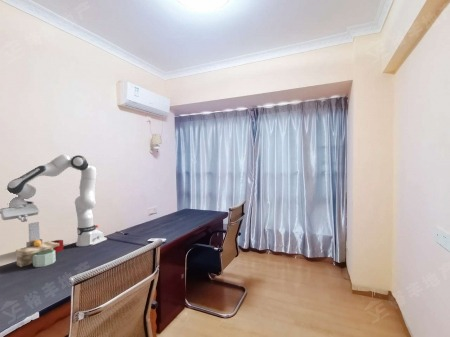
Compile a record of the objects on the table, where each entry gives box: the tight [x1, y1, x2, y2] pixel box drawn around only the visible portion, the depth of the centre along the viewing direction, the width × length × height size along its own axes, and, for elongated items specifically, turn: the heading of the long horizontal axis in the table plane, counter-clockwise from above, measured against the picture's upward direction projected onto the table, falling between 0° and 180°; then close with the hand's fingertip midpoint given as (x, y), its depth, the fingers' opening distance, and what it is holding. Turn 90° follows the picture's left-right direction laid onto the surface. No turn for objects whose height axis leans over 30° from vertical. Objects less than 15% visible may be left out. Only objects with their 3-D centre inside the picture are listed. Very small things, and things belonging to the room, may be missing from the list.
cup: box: [32, 249, 57, 268], centre depth 148 cm, size 11×11×7 cm
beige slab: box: [15, 240, 59, 268], centre depth 151 cm, size 18×14×10 cm
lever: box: [50, 239, 64, 254], centre depth 168 cm, size 18×9×7 cm, turn 170°
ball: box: [34, 240, 41, 247], centre depth 152 cm, size 4×4×4 cm
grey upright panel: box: [25, 221, 43, 247], centre depth 153 cm, size 8×2×15 cm, turn 153°
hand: (24, 221), depth 159 cm, fingers closed
